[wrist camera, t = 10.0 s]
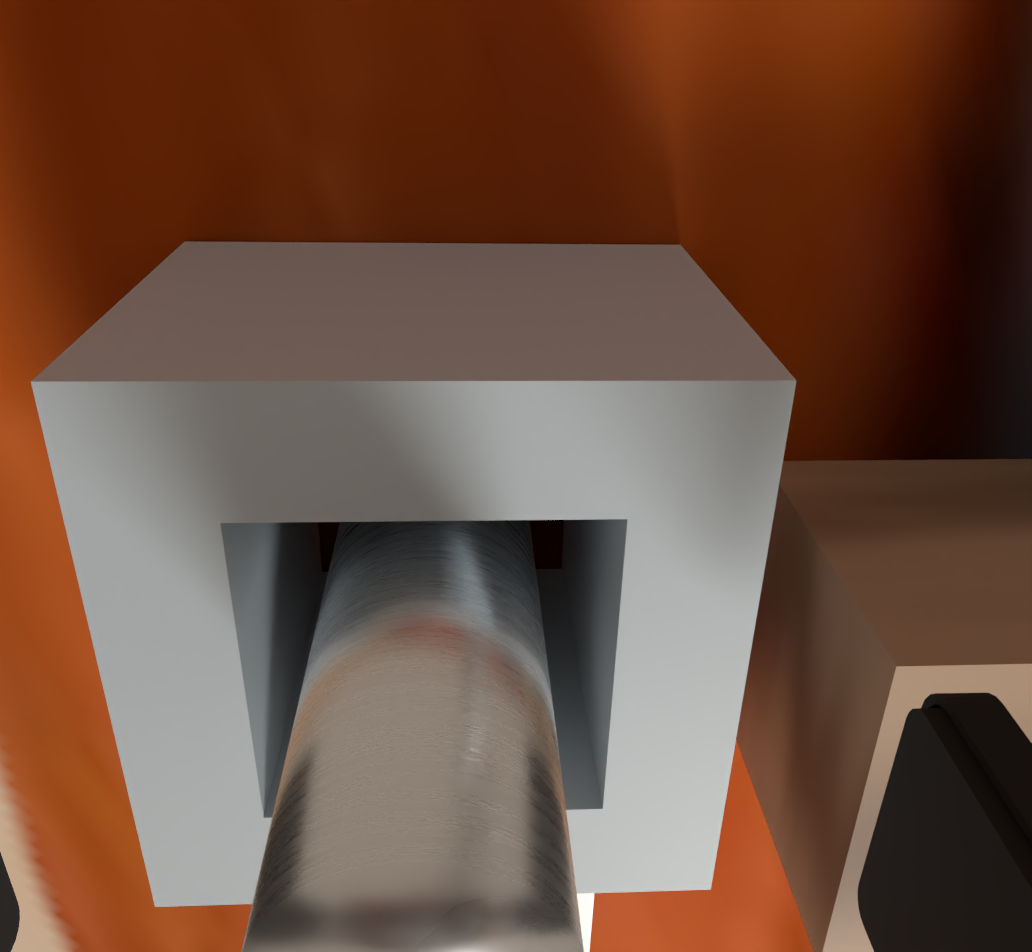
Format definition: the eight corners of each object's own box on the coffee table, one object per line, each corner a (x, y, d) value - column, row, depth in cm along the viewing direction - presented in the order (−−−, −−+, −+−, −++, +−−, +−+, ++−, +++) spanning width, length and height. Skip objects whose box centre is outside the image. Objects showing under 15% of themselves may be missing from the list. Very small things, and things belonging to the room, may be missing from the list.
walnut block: (763, 459, 17) (896, 666, 12) (1074, 456, 18) (1339, 658, 12) (724, 708, 20) (819, 965, 15) (994, 701, 20) (1181, 952, 15)
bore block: (184, 241, 15) (30, 381, 10) (680, 245, 15) (796, 380, 10) (242, 644, 19) (155, 906, 13) (641, 638, 19) (710, 889, 14)
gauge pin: (350, 385, 16) (216, 867, 7) (523, 386, 16) (595, 858, 8) (360, 535, 18) (258, 1090, 9) (519, 533, 18) (576, 1076, 9)
